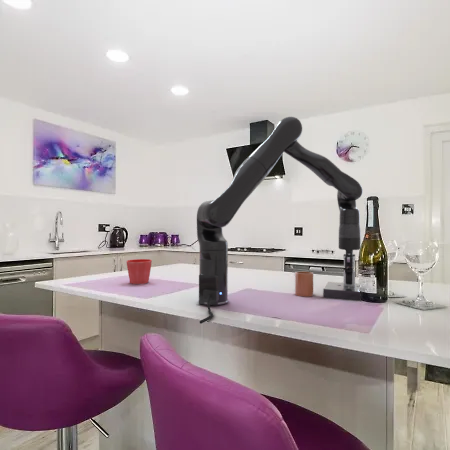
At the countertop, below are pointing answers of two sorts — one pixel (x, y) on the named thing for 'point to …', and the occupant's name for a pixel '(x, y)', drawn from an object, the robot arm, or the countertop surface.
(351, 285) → the stove knob
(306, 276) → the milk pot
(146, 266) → the flower pot
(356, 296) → the stove
